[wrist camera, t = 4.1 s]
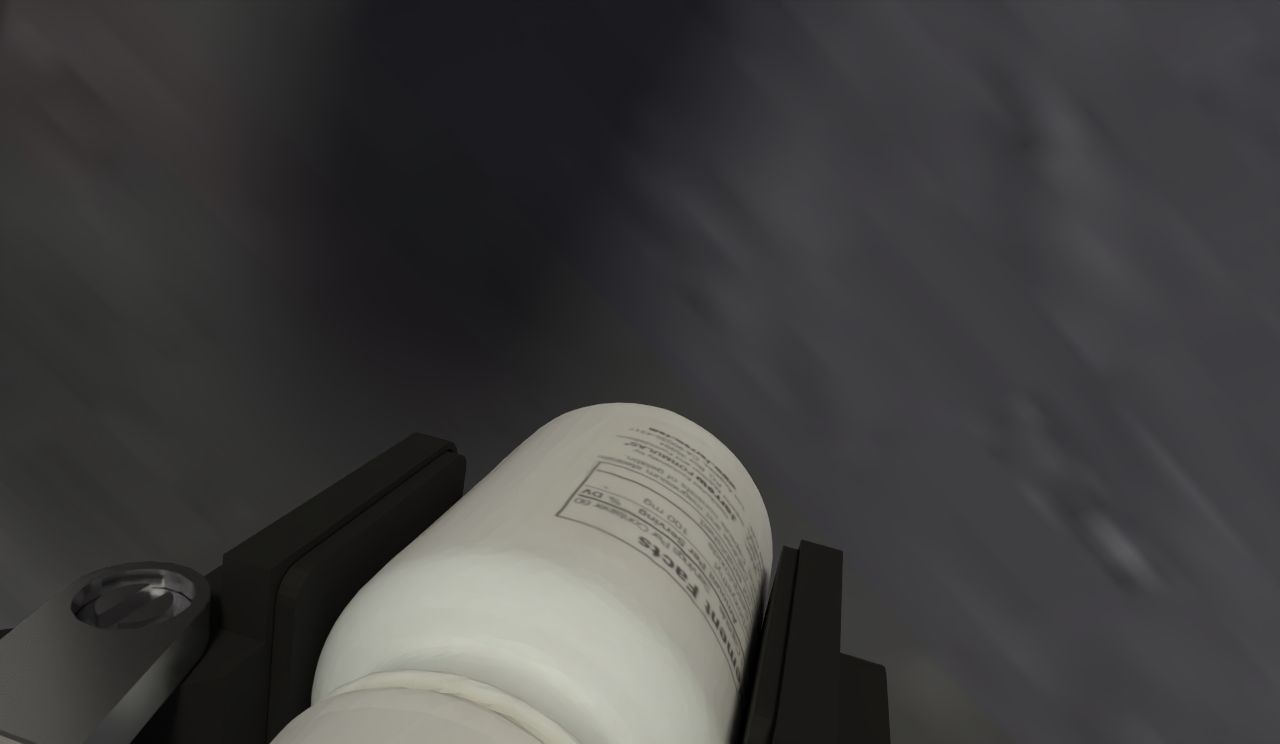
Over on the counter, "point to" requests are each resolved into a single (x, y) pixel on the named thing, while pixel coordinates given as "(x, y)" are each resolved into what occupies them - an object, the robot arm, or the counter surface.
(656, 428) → the pill bottle
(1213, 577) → the counter surface
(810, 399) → the counter surface
